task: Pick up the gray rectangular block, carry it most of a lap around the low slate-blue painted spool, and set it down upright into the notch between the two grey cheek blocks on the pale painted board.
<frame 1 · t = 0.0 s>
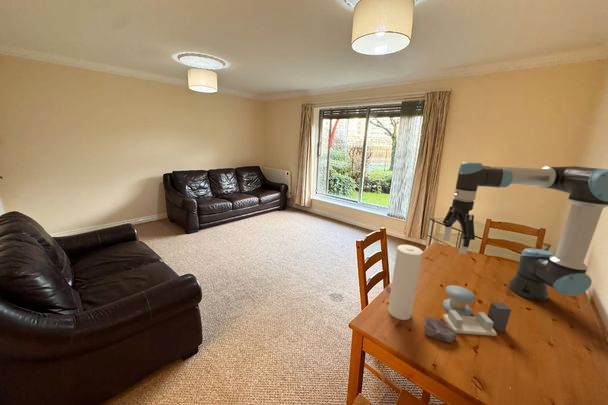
hand: (453, 246, 108), 28 cm above the table, fingers open, 13 cm apart
cylinder container: (399, 312, 107), on the table
spool: (456, 308, 111), on the table
gray rectangular block: (495, 327, 101), on the table
rock: (437, 335, 95), on the table
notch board: (468, 325, 101), on the table
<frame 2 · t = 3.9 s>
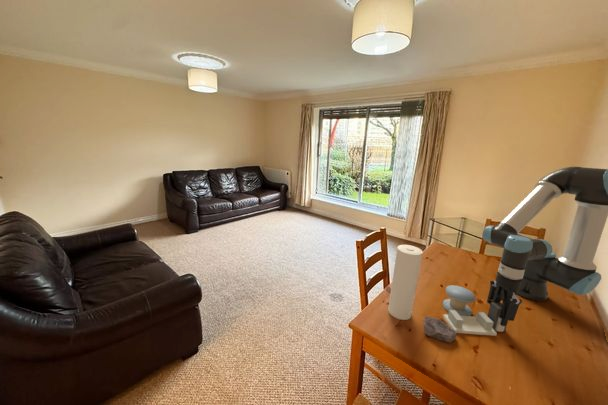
hand: (495, 326, 101), 0 cm above the table, fingers closed on gray rectangular block, 4 cm apart
gray rectangular block: (495, 327, 101), on the table, touching gripper
everything else where it was.
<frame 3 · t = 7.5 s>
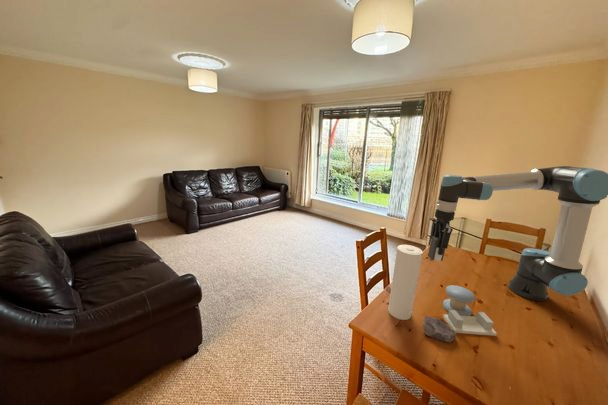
hand: (435, 257, 115), 20 cm above the table, fingers closed on gray rectangular block, 4 cm apart
gray rectangular block: (435, 258, 115), point 20 cm above the table, touching gripper
everything else where it was.
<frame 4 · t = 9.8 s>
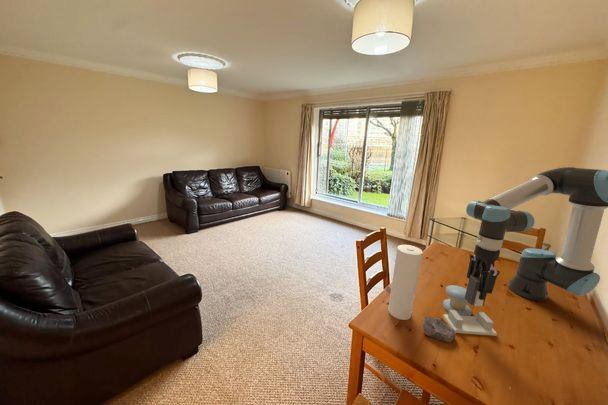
hand: (474, 301, 98), 11 cm above the table, fingers closed on gray rectangular block, 4 cm apart
gray rectangular block: (473, 301, 98), point 11 cm above the table, touching gripper
everything else where it was.
when the fingers open (3 cm above the table, at t = 11.5 s): gray rectangular block drops 1 cm, resting on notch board.
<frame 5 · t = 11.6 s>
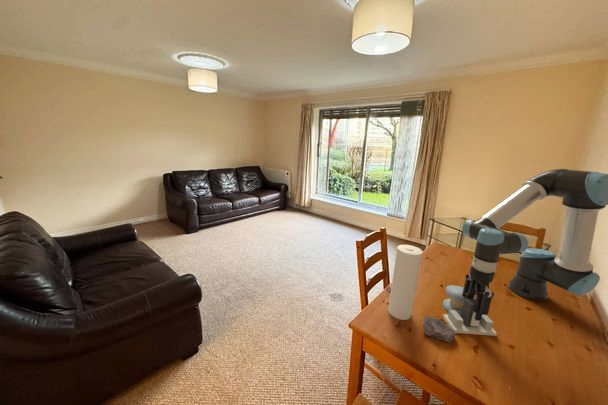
hand: (470, 320, 100), 3 cm above the table, fingers open, 5 cm apart
gray rectangular block: (468, 323, 100), point 1 cm above the table, touching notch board
everything else where it was.
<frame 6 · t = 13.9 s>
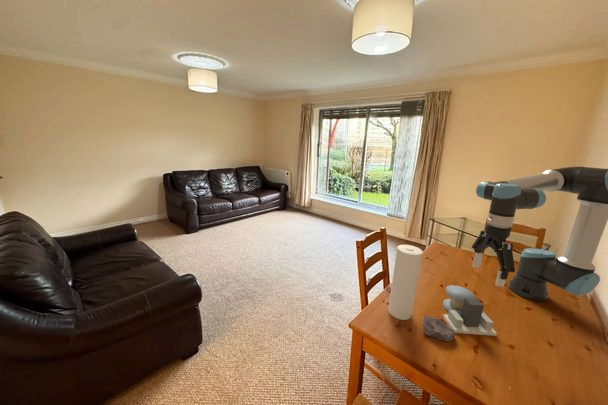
hand: (486, 275, 97), 22 cm above the table, fingers open, 13 cm apart
nothing on the table moved.
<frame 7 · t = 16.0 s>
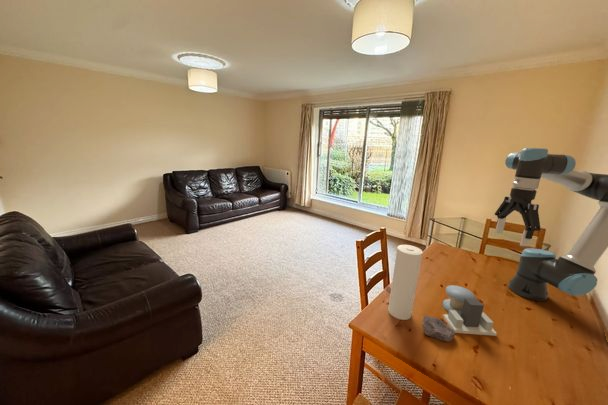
hand: (510, 239, 102), 35 cm above the table, fingers open, 13 cm apart
nothing on the table moved.
at the end: gray rectangular block inside the target area on the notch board (0.0 cm from its centre), point 1.2 cm above the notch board's base; gray rectangular block tilted 0°; the gripper is holding nothing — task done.
